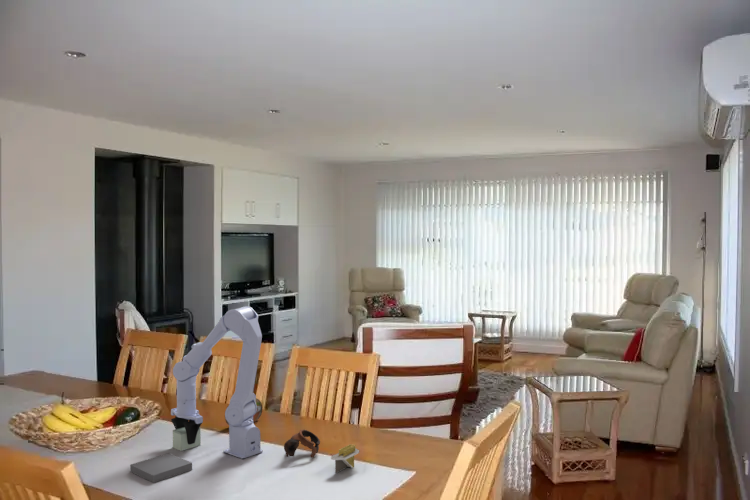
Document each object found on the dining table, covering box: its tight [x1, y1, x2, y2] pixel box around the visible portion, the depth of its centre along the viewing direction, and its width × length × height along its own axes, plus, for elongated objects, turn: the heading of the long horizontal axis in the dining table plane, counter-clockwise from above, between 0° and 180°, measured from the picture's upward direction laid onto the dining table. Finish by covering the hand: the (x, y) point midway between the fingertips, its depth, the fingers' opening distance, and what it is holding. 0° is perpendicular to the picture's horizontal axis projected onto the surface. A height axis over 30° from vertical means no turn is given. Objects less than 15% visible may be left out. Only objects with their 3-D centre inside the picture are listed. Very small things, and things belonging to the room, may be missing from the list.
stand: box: [129, 452, 193, 484], centre depth 175 cm, size 12×12×2 cm
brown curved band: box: [283, 429, 321, 459], centre depth 187 cm, size 12×9×8 cm
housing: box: [172, 426, 202, 452], centre depth 195 cm, size 4×7×6 cm, turn 140°
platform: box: [330, 443, 360, 474], centre depth 176 cm, size 12×18×7 cm, turn 146°
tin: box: [224, 397, 263, 426], centre depth 218 cm, size 15×3×8 cm, turn 141°
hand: (186, 441), depth 195 cm, fingers closed on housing, 4 cm apart
